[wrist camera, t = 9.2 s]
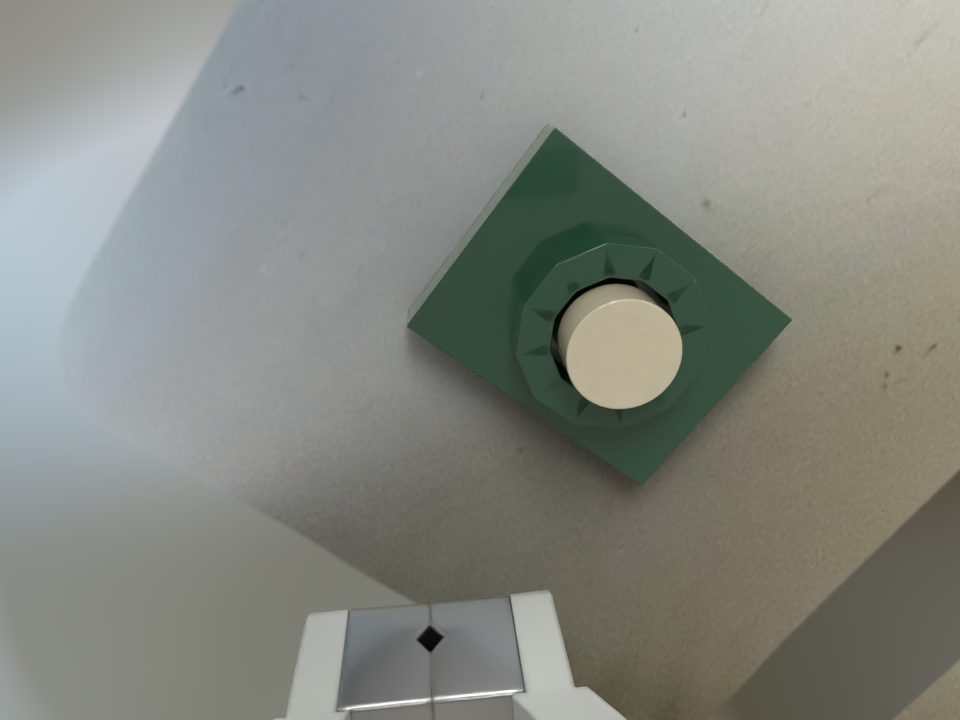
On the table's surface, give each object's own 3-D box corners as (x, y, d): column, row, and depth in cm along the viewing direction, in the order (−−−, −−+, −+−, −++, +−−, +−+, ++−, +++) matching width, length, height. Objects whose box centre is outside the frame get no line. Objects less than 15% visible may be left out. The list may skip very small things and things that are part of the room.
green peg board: (407, 311, 31) (404, 344, 27) (546, 123, 28) (564, 131, 25) (630, 463, 34) (654, 512, 30) (771, 305, 32) (817, 336, 28)
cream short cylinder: (534, 348, 28) (542, 368, 26) (605, 261, 27) (618, 275, 25) (617, 406, 29) (630, 430, 27) (687, 324, 28) (707, 343, 26)
